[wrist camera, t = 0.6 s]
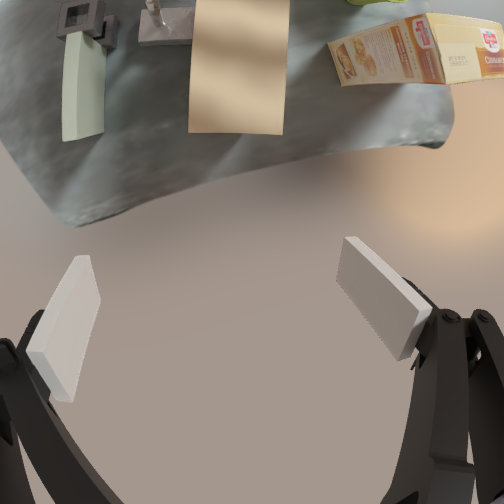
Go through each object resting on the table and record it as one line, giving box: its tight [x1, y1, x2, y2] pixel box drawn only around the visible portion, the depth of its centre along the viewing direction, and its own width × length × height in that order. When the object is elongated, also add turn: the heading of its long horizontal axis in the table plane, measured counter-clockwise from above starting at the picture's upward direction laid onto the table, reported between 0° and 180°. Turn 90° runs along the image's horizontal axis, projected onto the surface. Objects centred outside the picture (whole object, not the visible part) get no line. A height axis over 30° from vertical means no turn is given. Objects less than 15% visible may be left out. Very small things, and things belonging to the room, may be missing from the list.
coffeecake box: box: [327, 13, 504, 87], centre depth 25 cm, size 15×7×20 cm, turn 111°
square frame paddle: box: [56, 0, 119, 142], centre depth 23 cm, size 15×4×10 cm, turn 177°
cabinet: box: [138, 0, 290, 135], centre depth 24 cm, size 15×14×14 cm
